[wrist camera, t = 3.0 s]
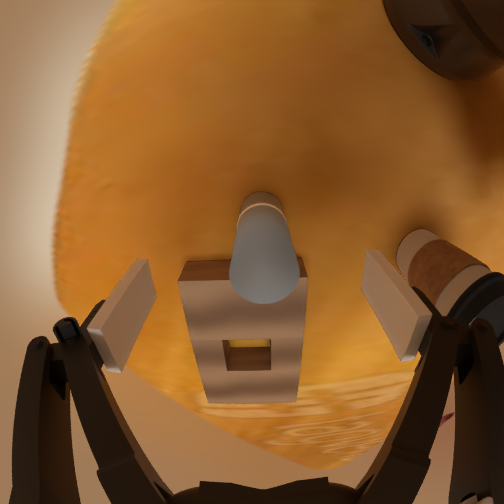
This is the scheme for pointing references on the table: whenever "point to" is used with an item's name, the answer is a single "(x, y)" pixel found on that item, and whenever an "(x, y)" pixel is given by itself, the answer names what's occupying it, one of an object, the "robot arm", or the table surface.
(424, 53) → the robot arm
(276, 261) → the peg
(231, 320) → the board
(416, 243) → the coffee cup
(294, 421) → the table surface
